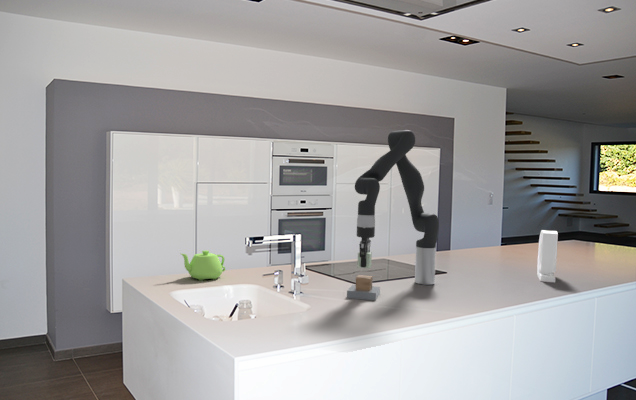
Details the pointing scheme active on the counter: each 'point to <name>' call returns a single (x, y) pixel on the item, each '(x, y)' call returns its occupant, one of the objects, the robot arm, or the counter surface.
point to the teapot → (204, 265)
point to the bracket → (547, 255)
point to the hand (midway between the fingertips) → (364, 265)
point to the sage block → (368, 260)
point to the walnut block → (364, 283)
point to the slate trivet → (363, 293)
